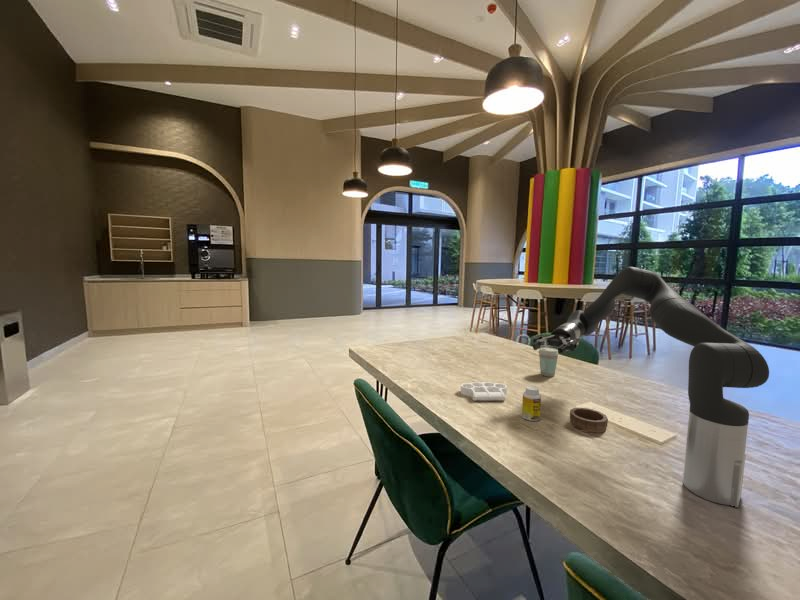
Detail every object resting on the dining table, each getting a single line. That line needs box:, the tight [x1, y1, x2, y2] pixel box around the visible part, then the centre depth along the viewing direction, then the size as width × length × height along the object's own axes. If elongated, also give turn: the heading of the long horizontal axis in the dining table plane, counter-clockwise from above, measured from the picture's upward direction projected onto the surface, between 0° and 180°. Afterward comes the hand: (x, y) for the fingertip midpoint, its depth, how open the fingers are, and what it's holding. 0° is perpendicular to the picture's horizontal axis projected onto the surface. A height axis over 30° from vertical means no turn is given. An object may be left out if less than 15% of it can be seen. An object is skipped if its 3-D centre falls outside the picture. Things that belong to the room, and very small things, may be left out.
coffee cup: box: [538, 346, 560, 378], centre depth 152 cm, size 8×9×12 cm
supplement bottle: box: [521, 385, 542, 422], centre depth 109 cm, size 6×6×10 cm
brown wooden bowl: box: [569, 407, 609, 434], centre depth 104 cm, size 10×10×4 cm
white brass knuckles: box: [460, 381, 508, 402], centre depth 130 cm, size 3×18×15 cm
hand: (546, 349), depth 114 cm, fingers open, 8 cm apart
